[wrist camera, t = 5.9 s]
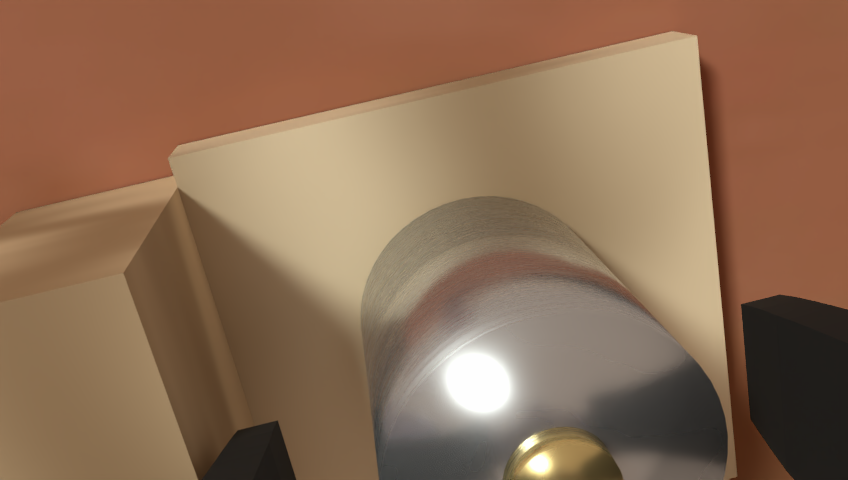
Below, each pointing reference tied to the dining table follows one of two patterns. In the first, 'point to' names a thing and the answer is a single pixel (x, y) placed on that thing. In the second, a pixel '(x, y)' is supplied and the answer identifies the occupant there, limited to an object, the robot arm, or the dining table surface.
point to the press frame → (333, 261)
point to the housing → (525, 359)
